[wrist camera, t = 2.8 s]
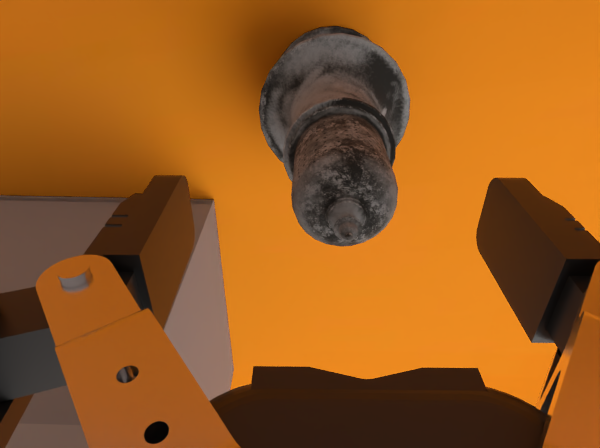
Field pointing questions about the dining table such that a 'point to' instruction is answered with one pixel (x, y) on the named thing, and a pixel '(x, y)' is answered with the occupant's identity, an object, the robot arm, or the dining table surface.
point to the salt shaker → (337, 131)
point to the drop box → (74, 242)
